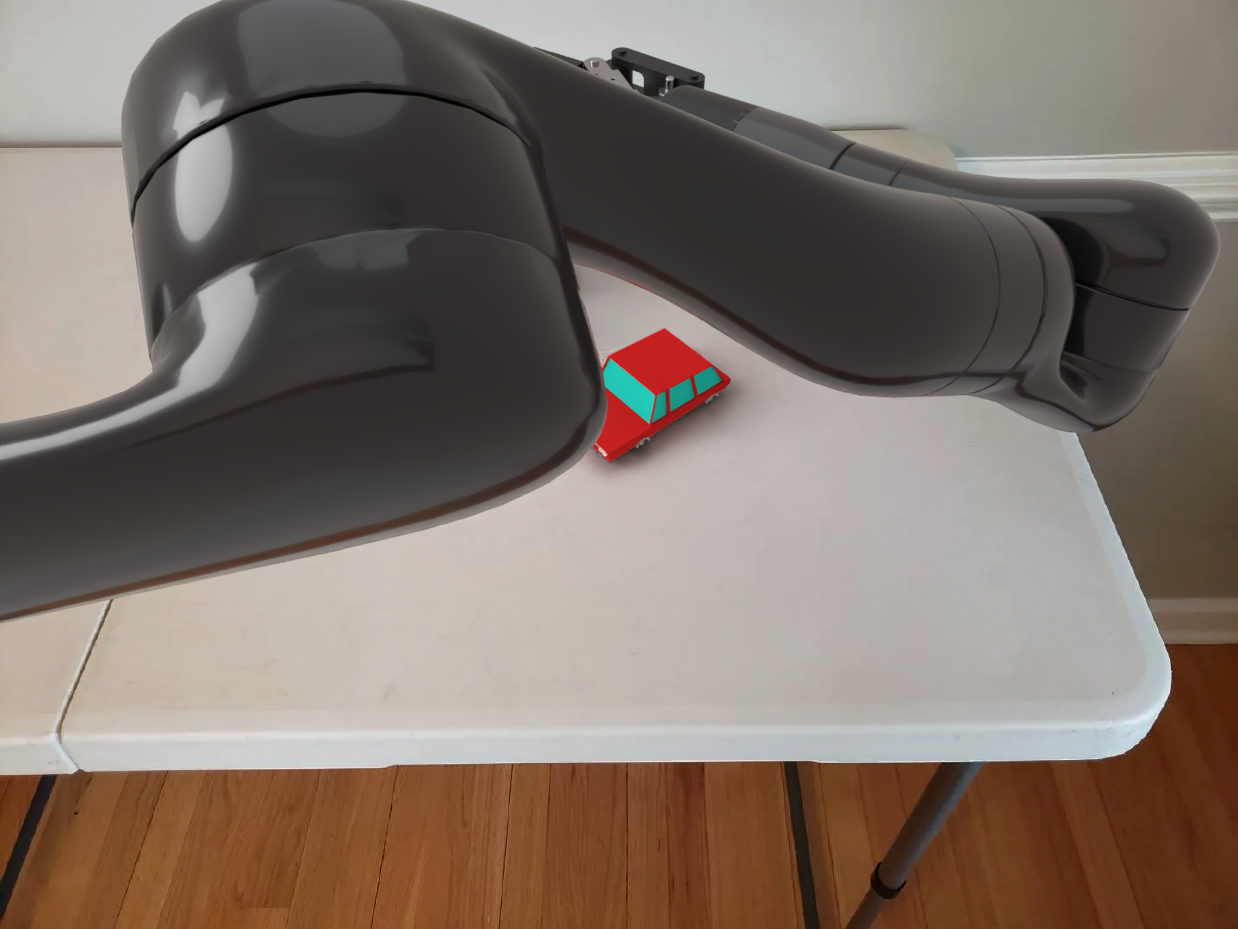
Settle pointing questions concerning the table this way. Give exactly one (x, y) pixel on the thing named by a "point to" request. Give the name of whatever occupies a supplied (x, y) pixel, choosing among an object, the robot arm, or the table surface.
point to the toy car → (653, 390)
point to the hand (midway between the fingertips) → (480, 98)
